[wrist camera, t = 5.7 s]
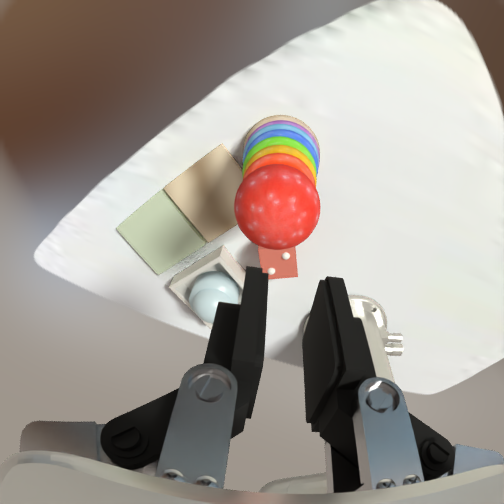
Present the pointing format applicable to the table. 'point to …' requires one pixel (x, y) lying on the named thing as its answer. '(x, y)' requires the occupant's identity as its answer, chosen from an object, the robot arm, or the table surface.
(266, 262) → the die
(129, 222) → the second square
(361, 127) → the table surface
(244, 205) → the stacking toy
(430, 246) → the table surface
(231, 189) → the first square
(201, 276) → the dome
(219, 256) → the popper housing
